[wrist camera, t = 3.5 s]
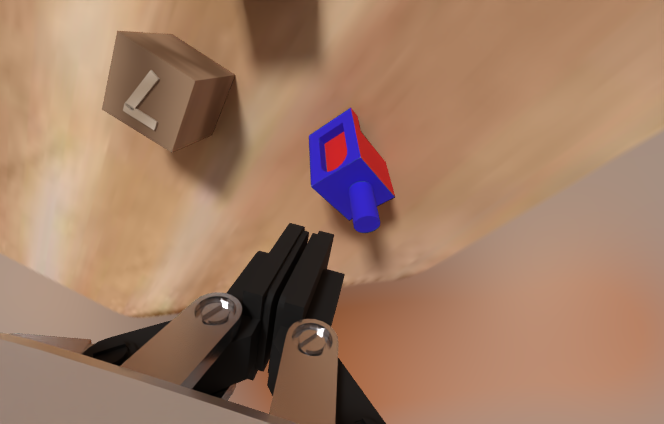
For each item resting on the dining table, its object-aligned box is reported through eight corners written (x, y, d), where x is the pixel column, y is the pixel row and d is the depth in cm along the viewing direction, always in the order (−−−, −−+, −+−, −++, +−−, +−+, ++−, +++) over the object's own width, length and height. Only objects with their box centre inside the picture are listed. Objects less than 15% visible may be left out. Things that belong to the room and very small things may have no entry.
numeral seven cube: (235, 74, 23) (194, 81, 19) (212, 134, 26) (170, 153, 21) (173, 34, 23) (115, 30, 19) (155, 99, 25) (100, 109, 21)
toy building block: (342, 170, 26) (353, 254, 21) (308, 135, 24) (312, 221, 18) (381, 147, 25) (404, 231, 20) (350, 107, 22) (367, 191, 17)
